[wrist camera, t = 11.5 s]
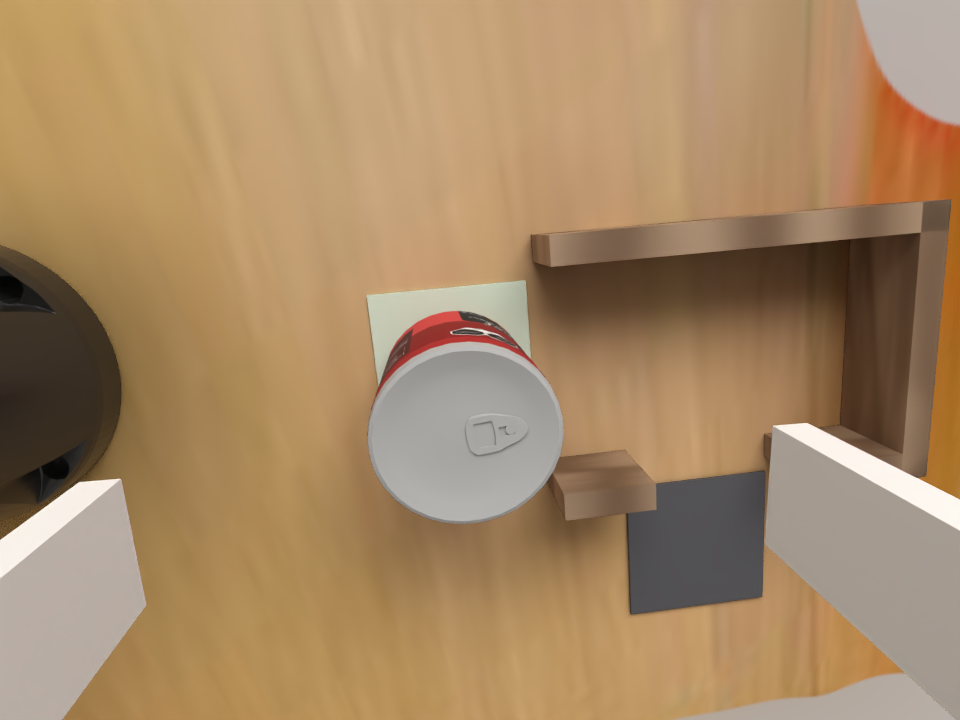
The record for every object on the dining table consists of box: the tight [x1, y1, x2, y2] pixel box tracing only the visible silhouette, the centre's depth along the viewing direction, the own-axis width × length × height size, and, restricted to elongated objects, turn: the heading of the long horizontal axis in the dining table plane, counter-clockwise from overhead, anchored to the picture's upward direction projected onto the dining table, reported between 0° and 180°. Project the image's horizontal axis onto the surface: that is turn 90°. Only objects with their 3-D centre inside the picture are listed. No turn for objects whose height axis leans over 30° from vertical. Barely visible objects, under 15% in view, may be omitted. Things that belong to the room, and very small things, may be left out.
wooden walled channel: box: [531, 199, 951, 521], centre depth 33 cm, size 20×15×5 cm
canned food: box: [367, 311, 563, 524], centre depth 28 cm, size 8×8×11 cm
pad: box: [367, 280, 531, 387], centre depth 34 cm, size 9×10×1 cm
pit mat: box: [627, 471, 765, 614], centre depth 38 cm, size 9×9×1 cm
